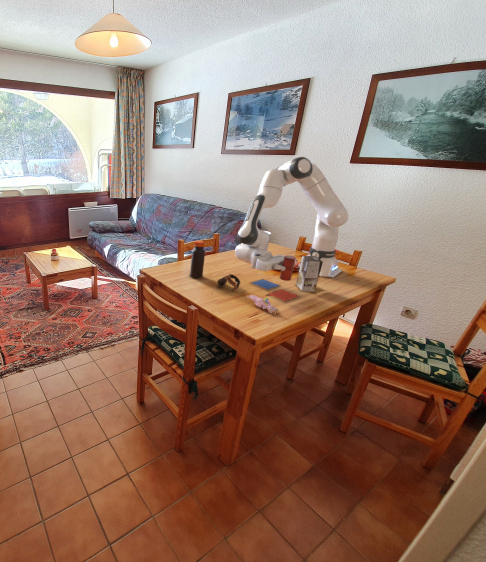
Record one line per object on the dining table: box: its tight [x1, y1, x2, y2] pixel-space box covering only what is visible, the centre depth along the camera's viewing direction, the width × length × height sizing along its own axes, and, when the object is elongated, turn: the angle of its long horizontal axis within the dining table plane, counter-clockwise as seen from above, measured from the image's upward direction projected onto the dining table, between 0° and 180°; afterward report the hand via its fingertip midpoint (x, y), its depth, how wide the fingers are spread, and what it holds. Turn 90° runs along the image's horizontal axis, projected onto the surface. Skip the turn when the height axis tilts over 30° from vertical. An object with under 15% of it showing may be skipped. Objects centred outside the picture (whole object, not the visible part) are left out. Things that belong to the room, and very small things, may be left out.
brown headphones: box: [217, 273, 241, 292], centre depth 156 cm, size 12×10×8 cm
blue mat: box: [251, 279, 281, 290], centre depth 161 cm, size 10×10×1 cm
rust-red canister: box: [279, 254, 297, 282], centre depth 145 cm, size 5×5×11 cm
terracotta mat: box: [268, 289, 299, 302], centre depth 149 cm, size 11×9×1 cm
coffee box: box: [295, 255, 323, 292], centre depth 154 cm, size 9×6×16 cm
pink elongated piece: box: [247, 294, 281, 316], centre depth 136 cm, size 6×6×15 cm
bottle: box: [189, 240, 206, 279], centre depth 169 cm, size 7×7×20 cm
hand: (289, 267), depth 144 cm, fingers closed on rust-red canister, 5 cm apart
